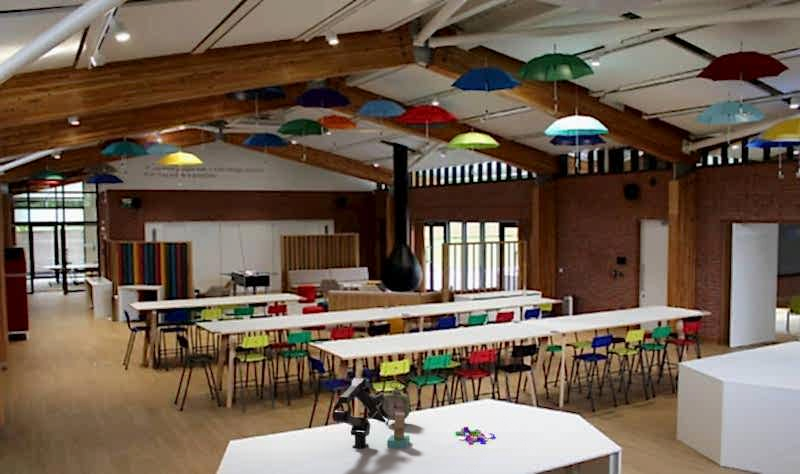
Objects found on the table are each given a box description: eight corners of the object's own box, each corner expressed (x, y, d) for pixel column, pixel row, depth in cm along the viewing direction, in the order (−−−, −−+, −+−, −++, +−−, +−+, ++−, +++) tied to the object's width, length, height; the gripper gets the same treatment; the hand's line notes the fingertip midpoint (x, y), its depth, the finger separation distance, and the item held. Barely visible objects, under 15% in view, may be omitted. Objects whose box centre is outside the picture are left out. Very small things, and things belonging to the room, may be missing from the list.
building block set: (498, 444, 357) (498, 435, 357) (460, 445, 356) (460, 437, 356) (489, 430, 382) (489, 422, 382) (453, 431, 381) (453, 423, 381)
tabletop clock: (382, 425, 394) (382, 382, 393) (387, 421, 402) (386, 379, 402) (406, 427, 389) (405, 383, 389) (411, 422, 398) (410, 380, 398)
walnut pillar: (403, 439, 355) (404, 415, 355) (394, 439, 355) (395, 414, 354) (403, 436, 360) (404, 412, 360) (393, 436, 360) (395, 411, 359)
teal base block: (406, 449, 352) (406, 441, 352) (387, 448, 354) (387, 440, 354) (409, 443, 361) (409, 435, 361) (391, 442, 363) (391, 435, 363)
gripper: (373, 392, 348) (395, 413, 347) (377, 383, 367) (398, 404, 366) (358, 407, 349) (380, 429, 348) (363, 398, 367) (384, 418, 367)
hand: (386, 419), depth 357 cm, fingers open, 9 cm apart
